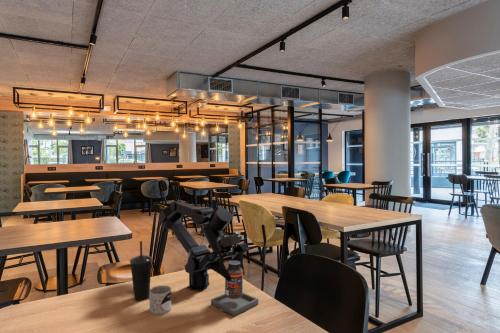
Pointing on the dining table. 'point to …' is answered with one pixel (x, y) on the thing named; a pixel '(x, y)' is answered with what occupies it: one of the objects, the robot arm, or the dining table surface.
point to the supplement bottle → (234, 281)
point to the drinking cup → (141, 275)
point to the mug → (160, 300)
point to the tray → (234, 304)
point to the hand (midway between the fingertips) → (237, 277)
